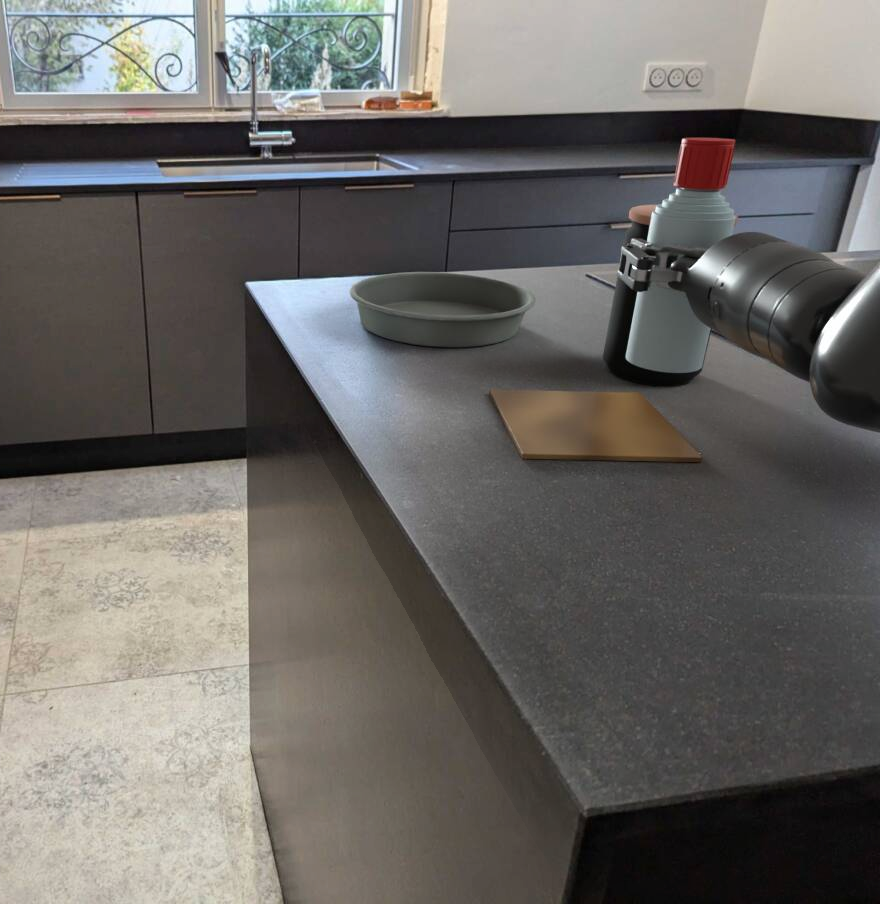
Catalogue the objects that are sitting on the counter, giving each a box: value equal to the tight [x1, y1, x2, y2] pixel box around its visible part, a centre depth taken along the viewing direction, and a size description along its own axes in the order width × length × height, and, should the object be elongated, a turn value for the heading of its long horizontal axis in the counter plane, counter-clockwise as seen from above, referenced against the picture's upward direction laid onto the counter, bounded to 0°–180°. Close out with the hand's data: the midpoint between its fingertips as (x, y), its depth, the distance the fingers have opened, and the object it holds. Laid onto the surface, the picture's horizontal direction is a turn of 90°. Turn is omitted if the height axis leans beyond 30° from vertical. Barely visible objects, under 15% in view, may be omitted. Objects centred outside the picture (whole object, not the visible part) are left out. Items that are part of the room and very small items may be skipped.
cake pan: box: [348, 271, 537, 348], centre depth 111 cm, size 25×25×4 cm
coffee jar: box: [602, 204, 739, 387], centre depth 91 cm, size 11×11×18 cm
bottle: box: [626, 187, 736, 373], centre depth 71 cm, size 6×6×18 cm
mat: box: [488, 389, 703, 463], centre depth 81 cm, size 16×16×1 cm
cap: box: [673, 137, 736, 190], centre depth 67 cm, size 4×4×4 cm
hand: (673, 250), depth 73 cm, fingers closed on bottle, 6 cm apart
